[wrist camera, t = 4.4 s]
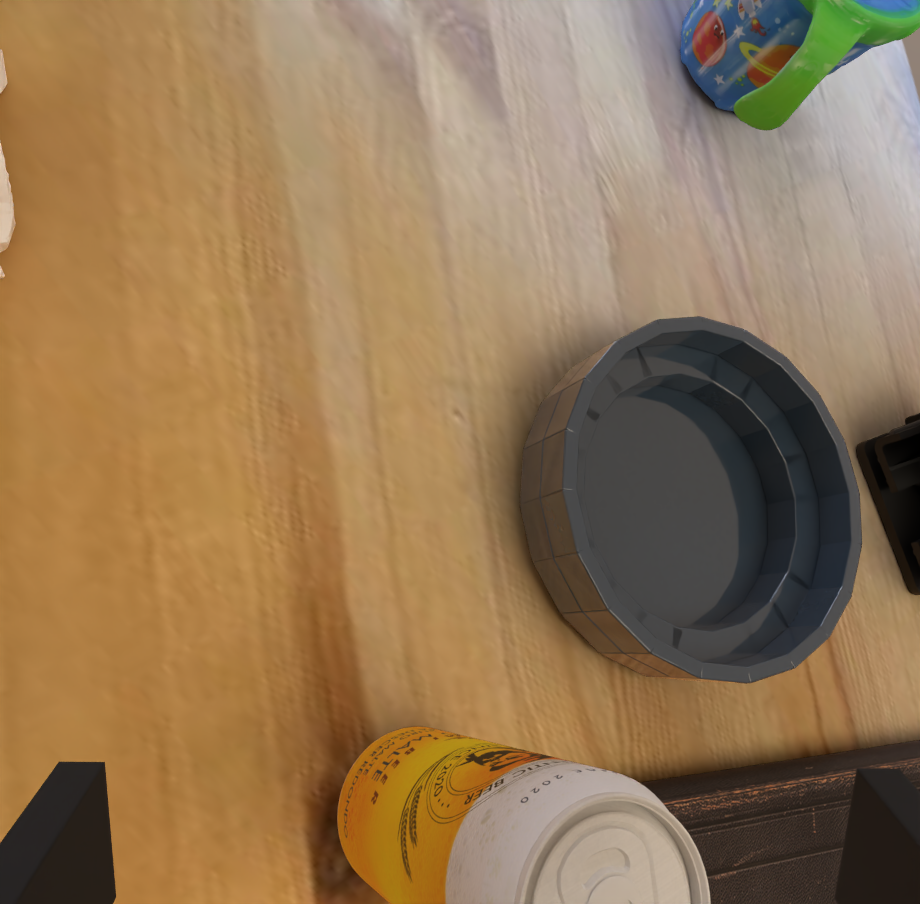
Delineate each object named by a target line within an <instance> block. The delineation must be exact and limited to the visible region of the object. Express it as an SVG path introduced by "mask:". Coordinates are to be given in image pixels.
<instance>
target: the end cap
mask: <svg viewBox="0 0 920 904" xmlns="http://www.w3.org/2000/svg"><path fill="white" fill-rule="evenodd" d="M905 424H906V425H904V426H901V427H899V428H896V429H893V430H891V431H890V432H888V433H886V434H883V435H880V436H878V437H875V438H872V439H869V440H867V441H864V442H861V443H860V444H859V445H858V446H857V449H856V451H857V456H858V458H859V461H860V464H861V466H862V469H863V471H864V474H865V477H866V479H867V482H868V484H869V487H870V490H871V492H872V495H873V497H874V500H875V503H876V505H877V508H878V511H879V513H880V516H881V518H882V521H883V524H884V526H885V529H886V531H887V534H888V537H889V539H890V542H891V544H892V547H893V550H894V552H895V555H896V558H897V560H898V563H899V565H900V568H901V571H902V573H903V576H904V578H905V581H906V584H907V586H908V589H909V590H910V592H911V593H913V594H914V595H920V413H919V414H916V415H913V416H910V417H908V418H906V420H905Z"/></svg>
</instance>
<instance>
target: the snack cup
mask: <svg viewBox="0 0 920 904" xmlns="http://www.w3.org/2000/svg"><path fill="white" fill-rule="evenodd" d="M919 27H920V0H695V2H694V3H693V5H692V6H691V8H690V9H689V11H688V13H687V15H686V17H685V19H684V21H683V24H682V31H681V49H680V53H681V61H682V63H683V64H685V65H686V66H687V68H688V70H689V73H690V75H691V76H692V77H693V79H694V81H695V82H696V84H697V85H698V86H699V87H700V88H701V89H702V90H703V92H704V93H705V94H706V95H707V96H708V97H709V98H710V99H711V100H713V101H714V103H715V106H716V107H718V108H720V109H723V110H726V111H727V110H730V111H734V112H735V114H736V116H737V117H738V118H739V119H740V120H741V121H743V122H745V123H747V124H748V125H749V126H752V127H754V128H757V129H760V130H772V129H775V128H777V127H780V126H781V125H782V124H783V123H784V122H786V121H787V120H788V118H789V117H790V116H791V115H792V113H793V112H794V111H795V110H796V109H797V108H798V107H799V105H800V104H801V103H802V102H803V100H804V99H805V98H806V97H807V96H808V95H809V94H810V93H811V91H812V90H813V89H814V88H815V87H816V85H817V84H818V83H819V82H820V81H821V80H822V79H823V78H824V77H825V76H826V75H828V74H831V73H833V72H834V71H836V70H837V69H839V68H840V67H841V66H844V65H846V64H847V63H849V62H851V61H852V60H854V59H856V58H857V57H859V56H860V55H862V54H863V53H864V52H866V51H868V50H869V49H871V48H872V47H876V46H880V45H883V44H886V43H889V42H891V41H894V40H900V39H903V38H905V37H907V36H909V35H911V34H912V33H913V32H915V31H916V30H917V29H918V28H919Z"/></svg>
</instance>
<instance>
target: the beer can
mask: <svg viewBox="0 0 920 904" xmlns="http://www.w3.org/2000/svg"><path fill="white" fill-rule="evenodd" d="M337 822H338V832H339V838H340V842H341V845H342V848H343V851H344V853H345V856H346V858H347V860H348V861H349V863H350V865H351V866H352V868H353V869H354V870H355V872H356V873H357V874H358V875H359V876H360V877H361V878H362V879H363V880H364V881H365V882H366V883H367V884H369V885H370V886H371V887H372V888H373V889H374V890H375V891H376V892H378V893H379V894H380V895H381V896H382V897H383V898H384V899H385V900H386V901H388V902H389V903H390V904H711V902H710V891H709V885H708V880H707V876H706V871H705V868H704V865H703V862H702V859H701V856H700V854H699V852H698V850H697V847H696V845H695V843H694V842H693V840H692V838H691V837H690V835H689V833H688V832H687V831H686V829H685V828H684V827H683V825H682V824H681V823H680V822H679V821H678V820H677V819H676V818H675V817H674V816H673V815H672V814H671V813H670V812H669V811H668V809H667V808H666V807H665V805H664V804H663V803H662V802H661V801H660V800H659V799H658V798H657V797H656V796H655V794H653V793H652V792H651V791H650V790H649V789H647V788H646V787H645V786H643V785H642V784H640V783H639V782H637V781H636V780H634V779H632V778H630V777H627V776H625V775H623V774H619V773H616V772H613V771H609V770H605V769H600V768H596V767H592V766H588V765H584V764H579V763H575V762H571V761H567V760H563V759H559V758H554V757H550V756H546V755H542V754H538V753H534V752H529V751H525V750H521V749H517V748H513V747H508V746H504V745H500V744H496V743H492V742H488V741H483V740H479V739H475V738H471V737H467V736H462V735H458V734H454V733H450V732H446V731H442V730H437V729H433V728H428V727H406V728H402V729H398V730H395V731H393V732H390V733H388V734H386V735H384V736H382V737H381V738H379V739H378V740H376V741H375V742H373V743H372V744H371V745H370V746H369V747H367V748H366V749H365V751H364V752H363V753H362V754H361V755H360V756H359V757H358V759H357V760H356V761H355V763H354V764H353V766H352V767H351V769H350V771H349V773H348V775H347V777H346V779H345V781H344V784H343V787H342V790H341V794H340V798H339V804H338V816H337Z"/></svg>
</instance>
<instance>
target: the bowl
mask: <svg viewBox="0 0 920 904" xmlns="http://www.w3.org/2000/svg"><path fill="white" fill-rule="evenodd" d="M523 449H524V450H523V462H522V478H521V493H520V509H521V514H522V518H523V523H524V527H525V532H526V536H527V541H528V545H529V550H530V554H531V559H532V562H533V564H534V566H535V567H536V569H537V571H538V573H539V575H540V577H541V579H542V580H543V582H544V584H545V586H546V588H547V590H548V592H549V593H550V595H551V597H552V599H553V601H554V603H555V605H556V607H557V608H558V610H559V612H560V613H561V615H562V616H563V617H564V618H565V619H566V620H567V621H568V622H569V623H570V624H571V625H572V626H573V627H574V628H575V629H576V630H577V631H578V632H579V633H580V634H581V635H582V636H583V637H584V638H585V639H586V640H587V641H588V642H589V643H590V644H591V645H592V646H593V647H594V648H595V649H596V650H597V651H598V652H600V653H601V654H602V655H604V656H606V657H608V658H610V659H612V660H614V661H616V662H618V663H620V664H622V665H624V666H626V667H628V668H630V669H632V670H634V671H636V672H638V673H640V674H642V675H644V676H647V677H658V678H668V679H679V680H689V681H707V682H726V683H745V684H747V683H753V682H756V681H759V680H762V679H765V678H768V677H771V676H774V675H777V674H780V673H783V672H786V671H789V670H792V669H794V668H796V667H797V666H798V665H799V664H800V663H801V662H802V661H804V660H805V659H806V658H807V657H808V656H809V655H810V654H811V653H813V652H814V651H815V650H816V649H817V648H818V647H819V646H821V645H822V644H823V643H824V642H825V641H826V640H827V639H828V638H829V637H830V635H831V634H832V632H833V630H834V628H835V626H836V624H837V622H838V621H839V619H840V617H841V615H842V613H843V611H844V609H845V608H846V606H847V604H848V602H849V600H850V598H851V596H852V595H851V594H852V592H853V587H854V582H855V577H856V572H857V567H858V562H859V557H860V552H861V547H862V546H861V545H862V532H861V513H860V493H859V489H858V486H857V482H856V479H855V475H854V472H853V468H852V465H851V461H850V458H849V454H848V451H847V447H846V444H845V441H844V438H843V436H842V435H841V433H840V431H839V429H838V427H837V425H836V423H835V422H834V420H833V418H832V416H831V414H830V412H829V411H828V409H827V407H826V405H825V403H824V401H823V400H822V398H821V396H820V395H819V393H818V392H817V391H816V390H815V388H814V387H813V386H812V385H811V384H810V383H809V382H808V381H807V379H806V378H805V377H804V376H803V375H802V374H801V373H800V372H799V370H798V369H797V368H796V367H795V366H794V365H793V364H792V363H791V361H790V360H789V359H788V358H787V357H785V356H784V355H783V354H781V353H780V352H778V351H777V350H775V349H774V348H772V347H771V346H769V345H768V344H766V343H765V342H763V341H762V340H760V339H759V338H757V337H756V336H754V335H753V334H751V333H750V332H748V331H747V330H744V329H742V328H739V327H735V326H732V325H728V324H725V323H721V322H718V321H714V320H711V319H708V318H704V317H700V316H698V317H685V318H672V319H659V320H655V321H653V322H651V323H649V324H647V325H645V326H643V327H641V328H639V329H637V330H635V331H633V332H631V333H629V334H627V335H625V336H623V337H621V338H619V339H617V340H616V341H614V342H612V343H611V344H609V345H607V346H606V347H604V348H603V349H601V350H599V351H598V352H596V353H594V354H593V355H591V356H589V357H588V358H586V359H584V360H583V361H581V362H580V363H578V364H576V365H575V366H573V367H572V368H571V369H570V370H569V371H568V372H567V373H566V375H565V376H564V377H563V378H562V379H561V380H560V382H559V383H558V384H557V385H556V386H555V387H554V388H553V390H552V391H551V392H550V393H549V394H548V395H547V396H546V398H545V399H544V400H543V402H541V405H540V407H539V410H538V412H537V415H536V418H535V420H534V423H533V425H532V428H531V430H530V433H529V436H528V438H527V441H526V443H525V446H524V448H523Z"/></svg>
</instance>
